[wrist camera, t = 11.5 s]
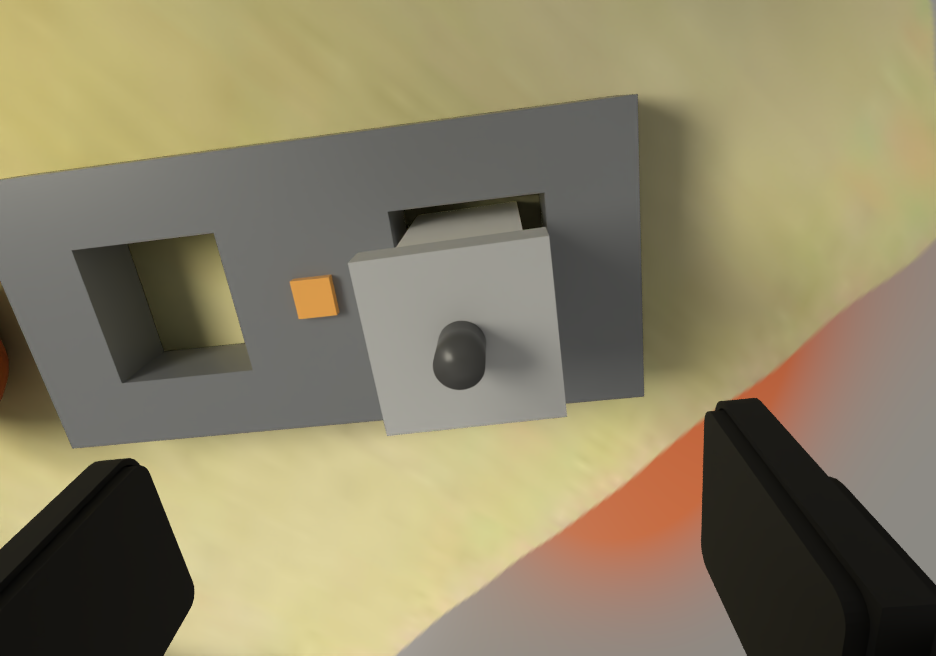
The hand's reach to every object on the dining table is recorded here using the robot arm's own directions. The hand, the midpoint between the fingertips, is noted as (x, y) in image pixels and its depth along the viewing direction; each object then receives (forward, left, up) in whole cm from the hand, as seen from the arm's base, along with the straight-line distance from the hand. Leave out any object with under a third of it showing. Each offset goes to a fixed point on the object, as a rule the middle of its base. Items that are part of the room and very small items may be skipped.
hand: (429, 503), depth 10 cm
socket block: (0, -6, -18) cm, 19 cm away
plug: (0, 0, -18) cm, 18 cm away
